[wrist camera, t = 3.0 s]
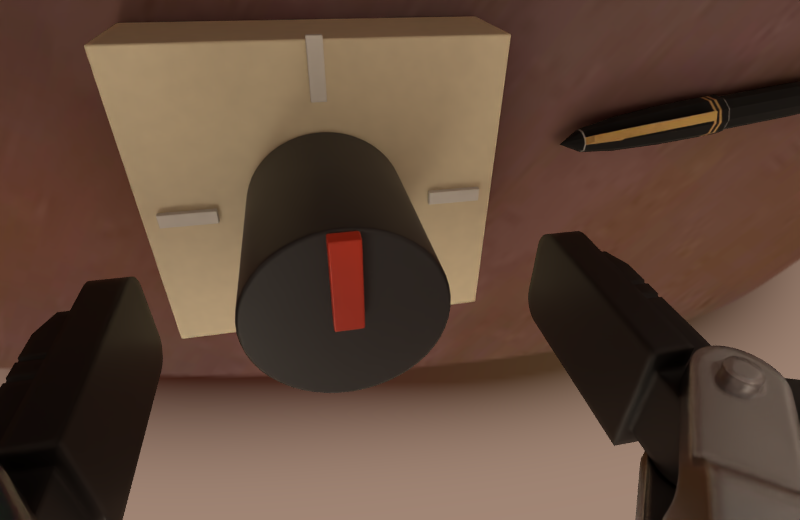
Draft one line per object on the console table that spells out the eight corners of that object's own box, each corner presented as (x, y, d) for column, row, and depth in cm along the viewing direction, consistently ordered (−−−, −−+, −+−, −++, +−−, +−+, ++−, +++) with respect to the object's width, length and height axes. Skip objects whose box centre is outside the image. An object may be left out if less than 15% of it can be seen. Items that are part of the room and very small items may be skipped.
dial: (401, 260, 14) (448, 389, 10) (259, 275, 13) (253, 420, 10) (404, 126, 12) (466, 227, 8) (232, 136, 11) (211, 251, 7)
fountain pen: (941, 45, 17) (992, 56, 16) (923, 80, 18) (970, 92, 16) (552, 119, 15) (575, 136, 14) (549, 153, 16) (571, 172, 15)
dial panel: (193, 289, 16) (181, 346, 14) (114, 17, 12) (78, 40, 9) (452, 260, 18) (476, 307, 16) (476, 11, 13) (515, 30, 11)
